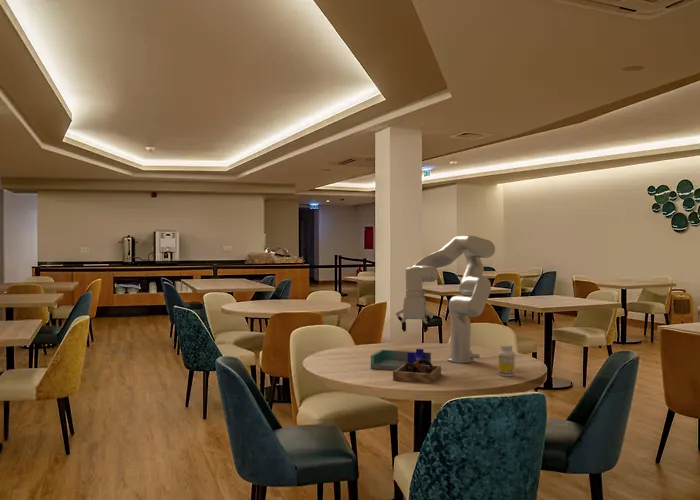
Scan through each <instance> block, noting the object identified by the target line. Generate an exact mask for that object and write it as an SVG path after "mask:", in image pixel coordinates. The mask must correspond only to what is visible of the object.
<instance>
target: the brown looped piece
mask: <svg viewBox="0 0 700 500" xmlns="http://www.w3.org/2000/svg"><path fill="white" fill-rule="evenodd" d="M422 362H424V363H425V365H429V366H430V368H426V370H423V368H424V367H423V366H421V365H420V364H421V363H422ZM408 366H410V367H411V368H410V369H409V368H408ZM433 366H434V365H433V363H432V362H431V363H430V362H429V361H427V360H425V359H418V360H417V361H415V362H414V363H411V362H407V363H406V364H405V365H404V368H405V370H406V371H407V372H413V373H420V372H422V373H427V374H430V373H431V372H432V368H433Z"/></svg>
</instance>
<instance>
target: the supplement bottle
mask: <svg viewBox="0 0 700 500" xmlns="http://www.w3.org/2000/svg"><path fill="white" fill-rule="evenodd" d="M500 349H501V350H500V351H499V352H498V375H500V376H501V377H505V378H508V377H509V378H510V377H514V376H515V373H516V371H515V370H516V368H515V367H516V366H515V365H516V364H515V362H516V361H515V357H516V356H515V352H514V351H513V345H512V344H511V345H510V344H501V345H500Z"/></svg>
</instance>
